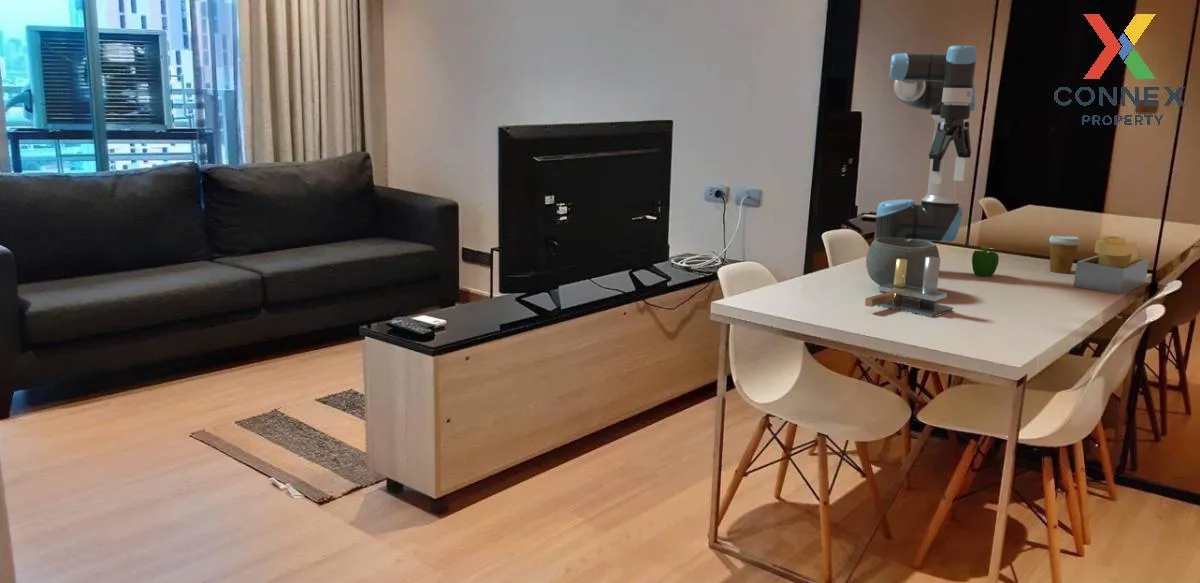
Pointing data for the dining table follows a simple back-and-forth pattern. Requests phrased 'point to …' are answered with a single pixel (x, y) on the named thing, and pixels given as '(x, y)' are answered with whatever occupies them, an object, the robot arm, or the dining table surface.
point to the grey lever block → (915, 293)
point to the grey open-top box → (1110, 276)
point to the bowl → (890, 249)
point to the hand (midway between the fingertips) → (947, 182)
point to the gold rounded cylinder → (900, 278)
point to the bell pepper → (984, 262)
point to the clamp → (1116, 251)
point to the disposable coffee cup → (1062, 252)
